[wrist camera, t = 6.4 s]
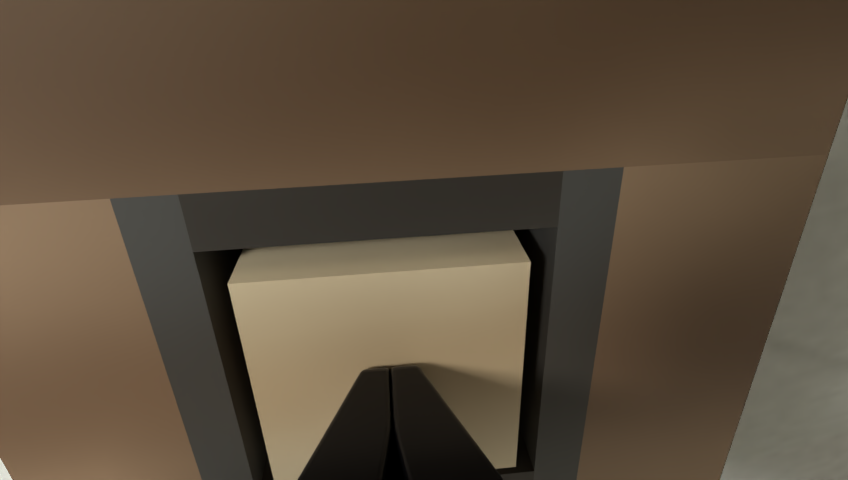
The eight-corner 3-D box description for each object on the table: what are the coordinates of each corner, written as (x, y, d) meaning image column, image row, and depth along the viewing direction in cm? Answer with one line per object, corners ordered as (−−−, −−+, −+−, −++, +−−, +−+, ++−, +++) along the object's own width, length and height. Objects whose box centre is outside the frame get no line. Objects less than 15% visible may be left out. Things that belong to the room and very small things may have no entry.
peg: (462, 286, 14) (516, 466, 9) (309, 298, 14) (275, 491, 9) (463, 140, 12) (530, 261, 7) (287, 149, 12) (227, 284, 7)
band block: (557, 576, 21) (619, 777, 16) (255, 611, 21) (215, 836, 15) (646, -38, 11) (894, -42, 6) (58, -18, 10) (-263, -3, 5)
